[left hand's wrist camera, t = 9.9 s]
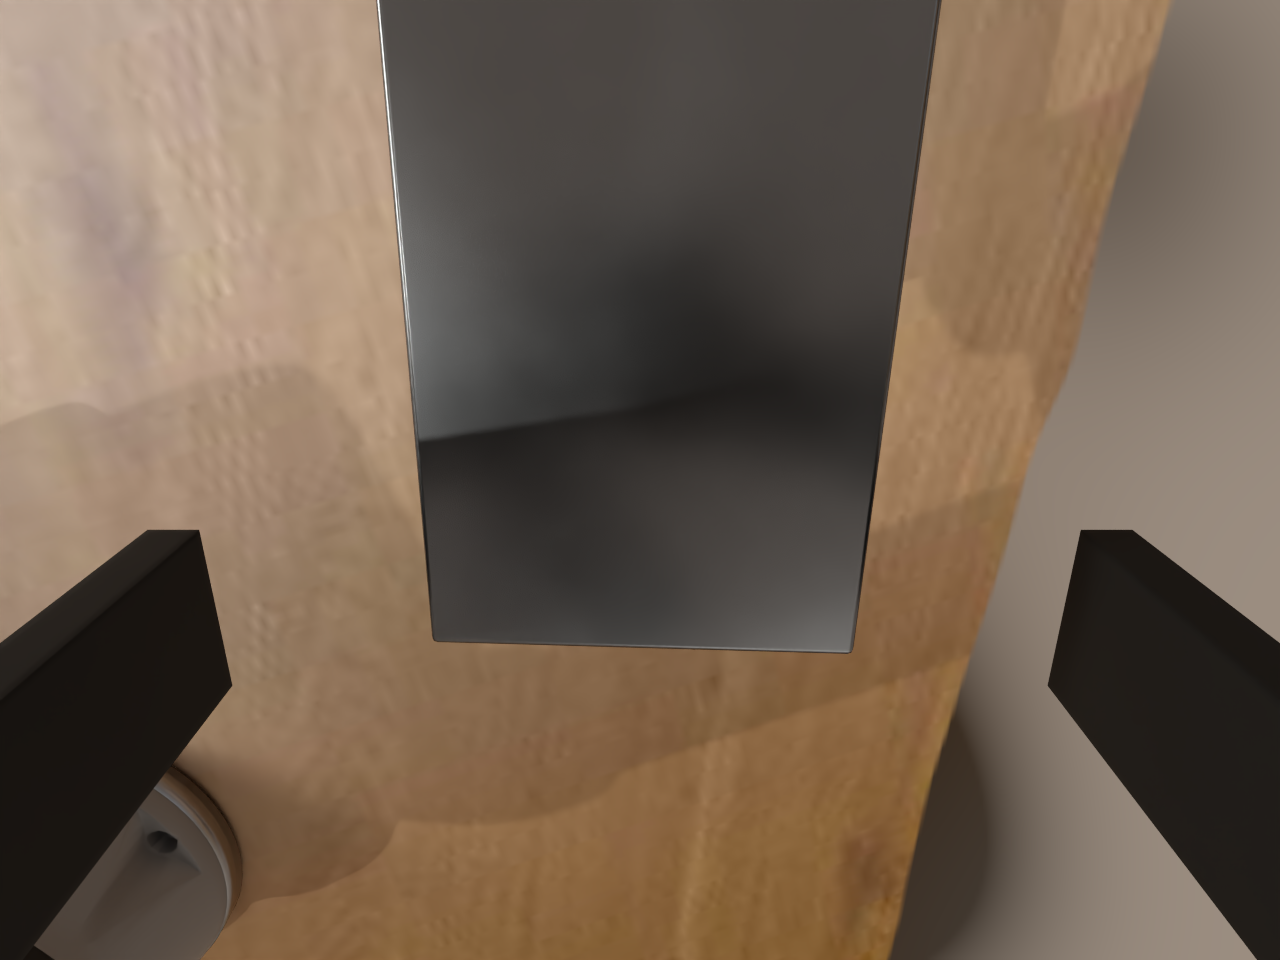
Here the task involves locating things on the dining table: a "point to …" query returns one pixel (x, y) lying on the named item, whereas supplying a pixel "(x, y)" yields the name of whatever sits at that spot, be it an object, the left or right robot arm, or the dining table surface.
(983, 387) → the dining table surface
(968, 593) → the dining table surface
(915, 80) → the box
